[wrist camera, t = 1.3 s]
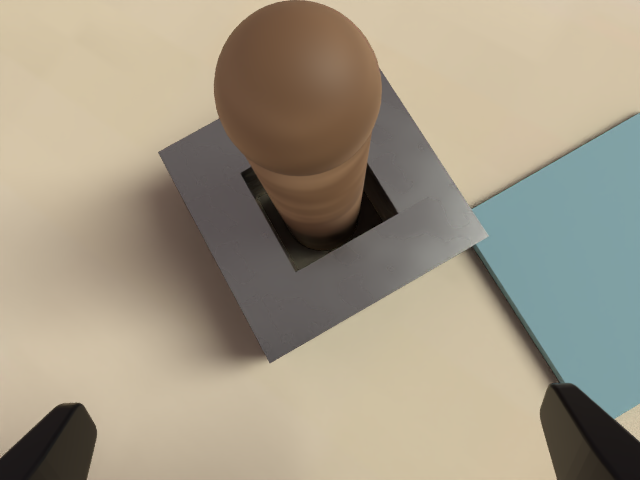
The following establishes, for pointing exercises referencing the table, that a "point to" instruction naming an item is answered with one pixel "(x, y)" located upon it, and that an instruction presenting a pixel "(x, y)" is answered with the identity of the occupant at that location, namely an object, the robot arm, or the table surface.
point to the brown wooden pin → (302, 113)
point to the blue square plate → (576, 263)
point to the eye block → (346, 261)
